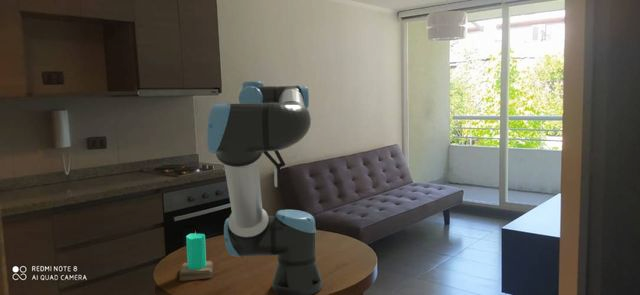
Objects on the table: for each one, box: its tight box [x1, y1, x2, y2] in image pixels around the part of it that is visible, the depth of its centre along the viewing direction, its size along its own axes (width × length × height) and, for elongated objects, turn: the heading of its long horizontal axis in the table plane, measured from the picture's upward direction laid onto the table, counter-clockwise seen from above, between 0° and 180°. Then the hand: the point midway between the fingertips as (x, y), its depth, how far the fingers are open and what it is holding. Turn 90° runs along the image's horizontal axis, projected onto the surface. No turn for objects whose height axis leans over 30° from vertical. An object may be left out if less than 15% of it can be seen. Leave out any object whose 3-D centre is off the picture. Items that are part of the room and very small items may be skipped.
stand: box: [179, 260, 214, 282], centre depth 152 cm, size 10×10×2 cm
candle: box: [185, 230, 207, 270], centre depth 151 cm, size 6×6×12 cm
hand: (256, 187), depth 160 cm, fingers open, 13 cm apart
